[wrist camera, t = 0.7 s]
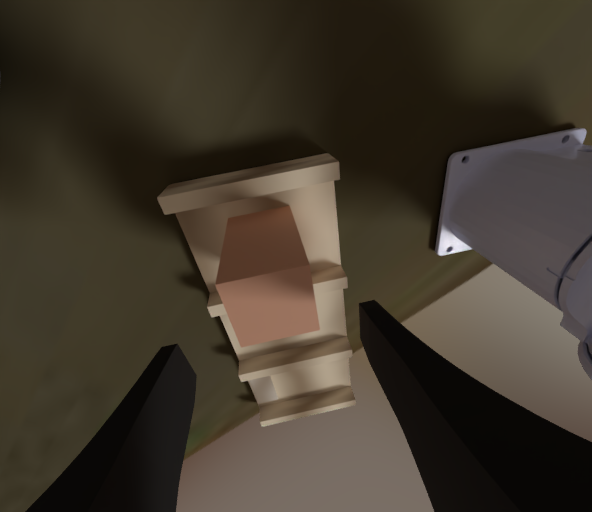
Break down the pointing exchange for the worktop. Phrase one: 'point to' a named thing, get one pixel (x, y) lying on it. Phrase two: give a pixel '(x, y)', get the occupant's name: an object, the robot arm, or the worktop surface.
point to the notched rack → (324, 270)
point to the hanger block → (266, 278)
